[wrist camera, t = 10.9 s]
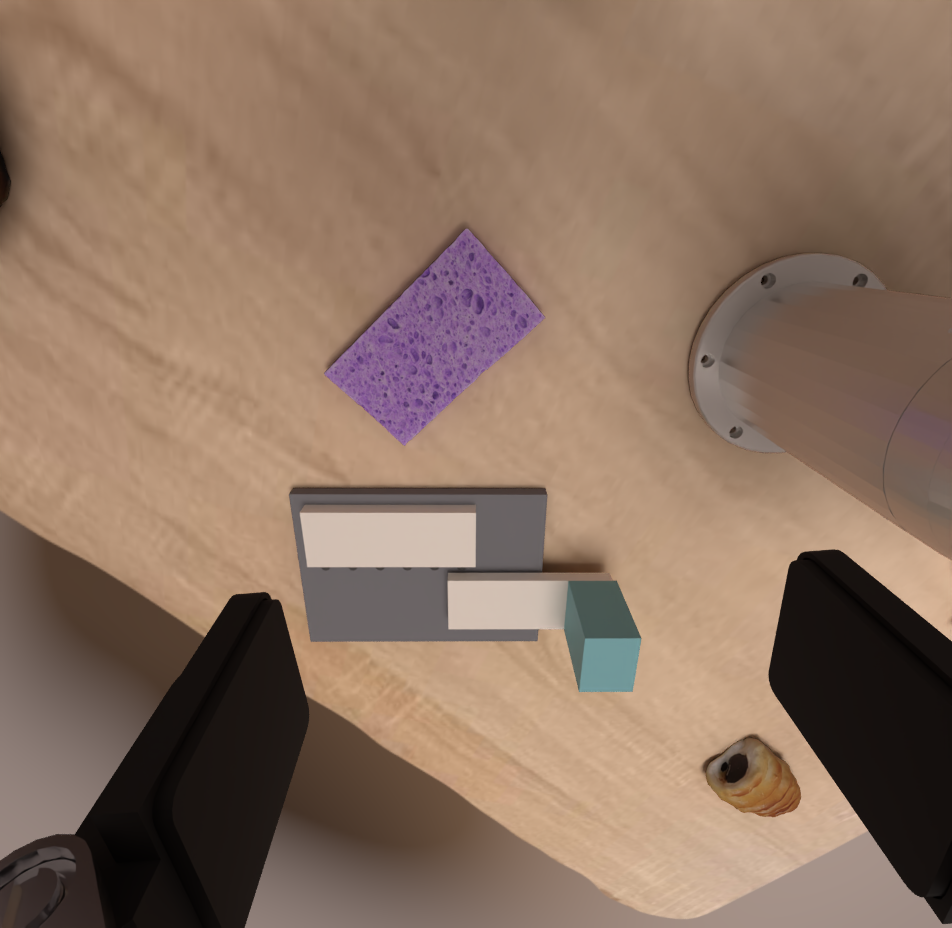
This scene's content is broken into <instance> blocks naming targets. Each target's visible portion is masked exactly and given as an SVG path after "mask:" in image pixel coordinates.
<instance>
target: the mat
mask: <svg viewBox="0 0 952 928" xmlns="http://www.w3.org/2000/svg"><path fill="white" fill-rule="evenodd" d="M289 498H290V505H291V511H292V518H293V525H294V532H295V539H296V545H297V552H298V559H299V566H300V573H301V579H302V586H303V593H304V600H305V606H306V613H307V620H308V627H309V634H310V640H311V642H331V641H537V640H538V629H448V573H542V566H543V551H544V536H545V521H546V506H547V492H546V489H518V488H293V489H292V491H291V492H290V494H289ZM304 505H476V567H466V569H465V570H459V569H458V568H457V567H439V569H438V570H435V571H434V570H431V569H430V567H412V569H411V570H408V571H407V570H404V569H403V567H385V568H384V569H383V570H381V571H380V570H377V569H376V567H358V568H357V569H356V570H354V571H353V570H350V569H349V568H348V567H330V569H329V570H327V571H325V570H323V569H322V568H321V567H307V561H306V554H305V547H304V540H303V533H302V525H301V518H300V512H301V510H302V508H303V507H304Z"/></svg>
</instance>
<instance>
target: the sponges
mask: <svg viewBox="0 0 952 928" xmlns="http://www.w3.org/2000/svg"><path fill="white" fill-rule="evenodd" d="M544 318H545V316H544V315H543V314H542V313H541V312H540V311H539V310H538V308H537V307H536V306H535V304H534V303H533V302H532V301H531V299H530V298H529V297H528V296H527V295H526V294H525V293H524V291H523V290H522V289H521V288H520V287H519V286H518V285H517V284H516V283H515V281H514V280H513V279H512V278H511V277H510V275H509V274H508V273H507V272H506V271H505V270H504V269H503V267H502V266H501V265H500V264H499V263H498V262H497V261H496V260H495V259H494V258H493V257H492V256H491V255H490V253H489V252H488V251H487V250H486V249H485V247H484V246H483V245H482V244H481V242H480V241H479V240H478V239H477V238H476V237H475V236H474V235H473V234H472V232H471V231H470V230H469V229H467V228H466V229H465V230H464V231H463V232H462V233H461V234H460V235H459V236H458V238H457V239H456V240H455V241H454V242H453V243H452V244H451V245H450V246H449V247H448V248H447V249H446V250H445V251H444V252H443V253H442V254H441V255H440V256H439V257H438V258H437V259H436V260H435V261H434V262H433V263H432V264H431V265H430V266H429V267H428V268H427V269H426V270H425V271H424V273H423V274H422V275H421V276H419V277H418V278H417V279H416V280H415V281H414V283H413V284H412V285H411V286H410V287H409V288H408V289H406V290H405V291H404V292H403V294H402V295H401V296H400V297H399V298H398V299H397V300H396V301H395V302H394V303H393V304H392V305H391V306H390V307H389V308H388V309H387V310H386V311H385V312H384V313H383V314H382V315H381V316H380V317H379V318H378V319H377V320H376V321H375V322H374V323H373V324H372V325H371V326H370V327H369V328H368V329H367V330H366V331H365V332H364V333H363V334H362V335H361V336H360V337H359V338H358V339H357V340H356V341H355V342H354V343H353V344H352V345H351V346H350V347H349V348H348V349H347V350H346V351H345V352H344V353H343V354H342V355H341V356H340V357H339V358H338V359H337V360H336V361H335V362H334V363H333V364H332V365H331V367H330V368H329V369H328V370H326V372H325V373H324V374H325V375H326V376H327V377H328V378H329V379H330V380H331V381H332V382H333V383H334V384H336V385H337V386H338V387H339V388H340V389H341V390H342V391H344V392H345V393H346V394H347V395H348V396H350V397H351V398H352V399H353V400H354V401H355V402H356V403H357V404H359V405H361V406H362V407H363V408H364V409H365V410H366V411H367V412H368V413H369V414H370V415H372V416H373V417H374V418H375V419H376V420H377V421H378V422H379V423H381V424H382V426H384V427H385V428H386V429H387V430H388V431H389V432H390V433H391V434H392V435H393V436H394V437H395V438H396V439H397V440H399V441H400V442H401V443H402V444H403V445H406V443H407V442H408V441H409V440H411V439H412V438H413V437H414V436H415V435H417V434H418V433H419V432H420V431H421V430H422V429H423V428H424V427H425V426H426V425H427V424H428V423H429V422H430V421H432V420H433V419H434V418H435V417H436V416H437V415H438V414H439V413H440V412H441V411H442V410H443V409H444V408H445V407H446V406H447V405H448V404H450V403H451V402H452V401H453V399H454V398H455V397H457V396H458V395H459V394H461V393H462V392H463V391H464V390H465V389H466V388H467V387H469V386H470V384H471V383H473V382H474V381H475V380H476V379H477V378H478V376H479V375H480V374H481V373H482V372H483V371H484V370H487V369H488V368H489V367H490V366H492V365H493V364H494V363H495V362H496V361H498V360H499V359H500V358H501V357H502V356H503V355H504V354H505V353H507V352H508V351H509V350H510V349H511V348H512V347H513V346H514V345H516V344H517V343H518V342H519V341H520V340H522V339H523V338H524V337H525V336H526V335H527V334H528V333H529V332H530V331H531V330H532V329H533V328H535V327H536V326H537V325H538V324H539V323H540V322H541V321H542V320H543V319H544Z"/></svg>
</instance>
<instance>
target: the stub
mask: <svg viewBox="0 0 952 928" xmlns="http://www.w3.org/2000/svg"><path fill="white" fill-rule="evenodd" d="M448 629H564V631H565V635H566V639H567V643H568V648H569V652H570V656H571V660H572V664H573V668H574V672H575V677H576V681H577V685H578V689H579V692H633V686H634V680H635V674H636V668H637V662H638V656H639V650H640V644H641V636H640V634H639V632H638V629H637V627H636V625H635V622H634V620H633V618H632V615H631V613H630V611H629V608H628V606H627V604H626V601H625V599H624V597H623V595H622V592H621V590H620V588H619V585H618V583H617V581H613V579H612V577H611V574H610V573H448Z"/></svg>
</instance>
